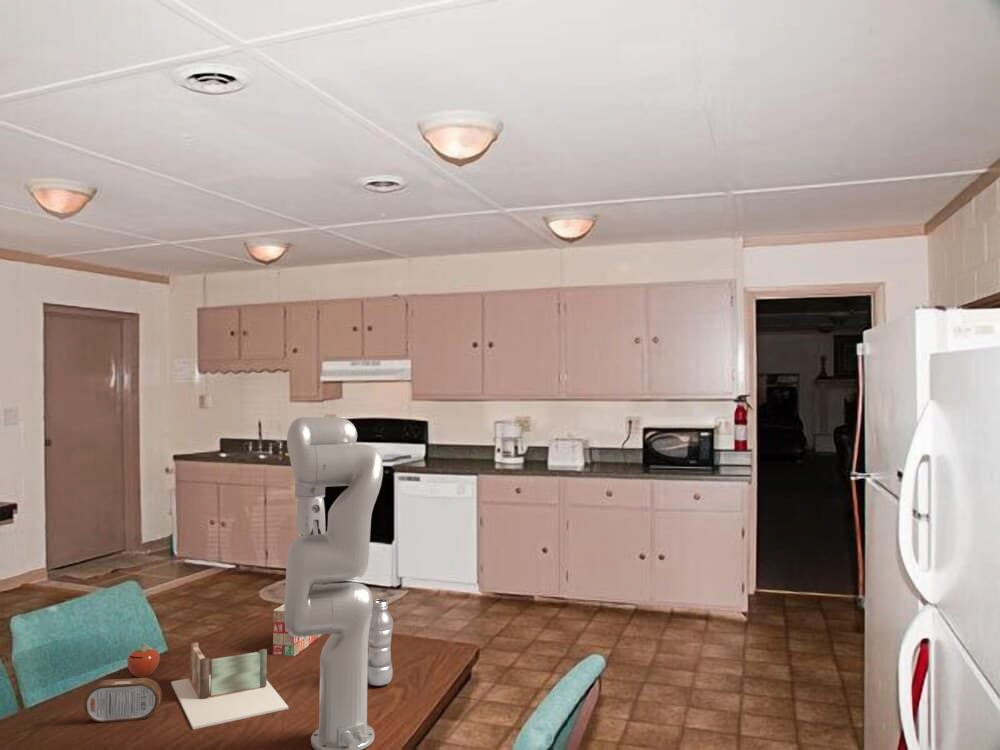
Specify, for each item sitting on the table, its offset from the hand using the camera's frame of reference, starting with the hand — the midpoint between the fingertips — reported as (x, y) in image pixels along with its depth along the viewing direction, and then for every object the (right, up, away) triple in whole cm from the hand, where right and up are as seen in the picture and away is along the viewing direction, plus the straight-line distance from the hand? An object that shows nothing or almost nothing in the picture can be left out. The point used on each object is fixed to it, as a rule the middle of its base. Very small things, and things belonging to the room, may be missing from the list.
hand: (309, 562), depth 191 cm
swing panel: (-12, -26, -16) cm, 33 cm away
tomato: (-40, -27, -5) cm, 49 cm away
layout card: (-15, -27, -17) cm, 35 cm away
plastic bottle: (+20, -27, -10) cm, 35 cm away
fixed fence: (-22, -26, -14) cm, 37 cm away
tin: (-32, -26, -30) cm, 52 cm away
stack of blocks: (-7, -28, +20) cm, 35 cm away
